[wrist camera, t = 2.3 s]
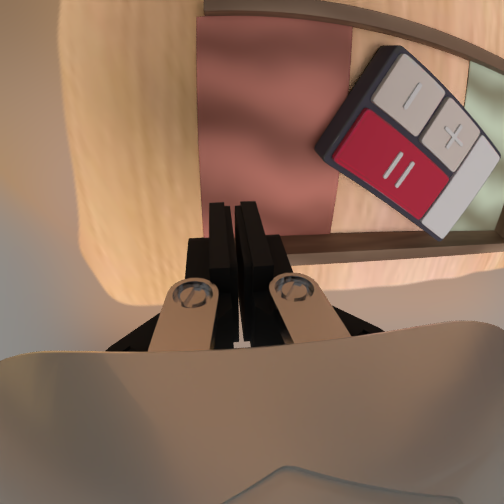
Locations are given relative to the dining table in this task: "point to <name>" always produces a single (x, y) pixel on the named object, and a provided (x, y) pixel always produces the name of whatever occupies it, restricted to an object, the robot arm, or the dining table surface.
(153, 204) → the dining table surface
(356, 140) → the calculator
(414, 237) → the brown wooden tray
